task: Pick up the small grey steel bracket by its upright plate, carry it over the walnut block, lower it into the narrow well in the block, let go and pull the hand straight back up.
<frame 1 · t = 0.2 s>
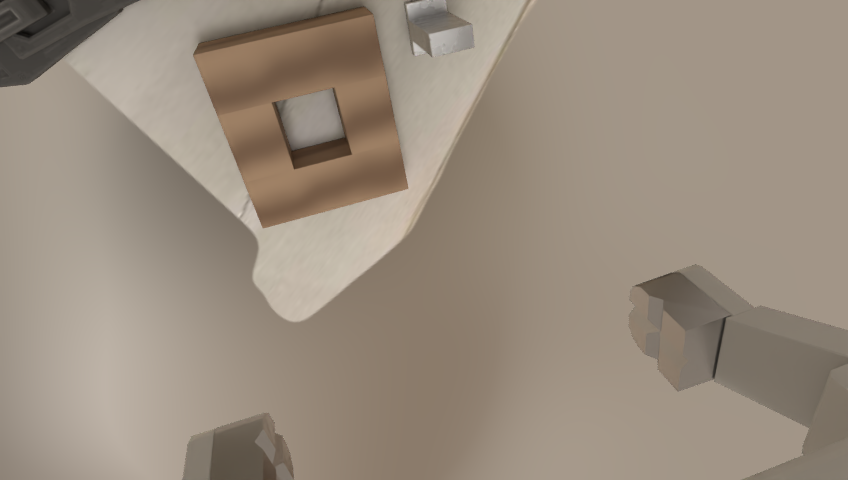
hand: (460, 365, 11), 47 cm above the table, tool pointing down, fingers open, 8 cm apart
steel bracket: (427, 24, 53), on the table
walnut well: (309, 113, 55), on the table
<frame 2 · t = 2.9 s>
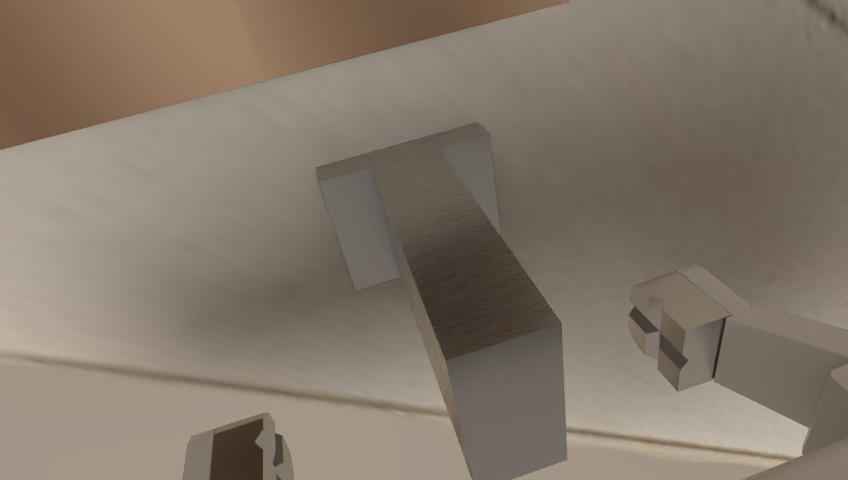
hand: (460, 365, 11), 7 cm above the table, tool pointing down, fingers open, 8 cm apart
steel bracket: (411, 201, 16), on the table
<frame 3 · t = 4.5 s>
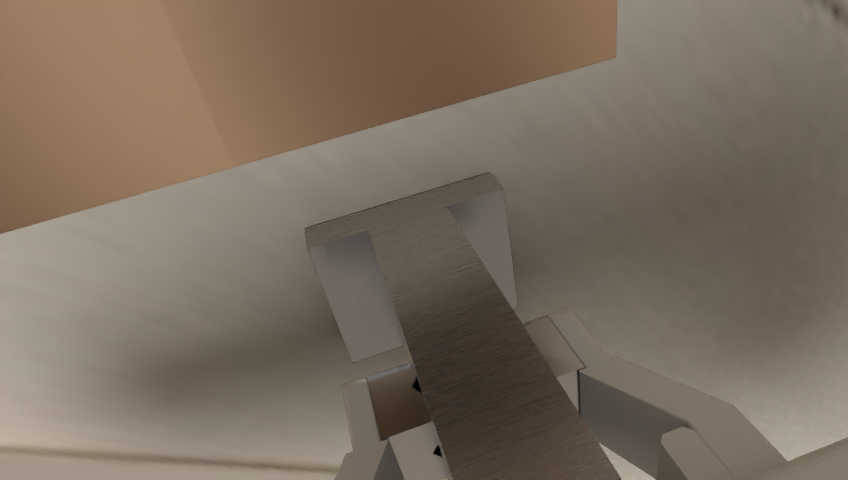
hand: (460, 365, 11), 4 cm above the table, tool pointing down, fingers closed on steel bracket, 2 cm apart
steel bracket: (414, 260, 15), on the table, touching gripper
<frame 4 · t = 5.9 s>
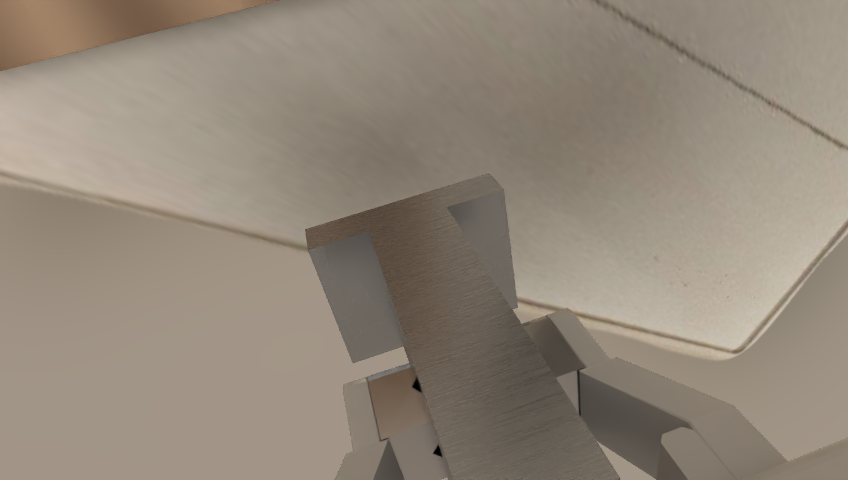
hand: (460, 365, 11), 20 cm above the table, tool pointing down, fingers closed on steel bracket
steel bracket: (414, 261, 15), point 16 cm above the table, touching gripper
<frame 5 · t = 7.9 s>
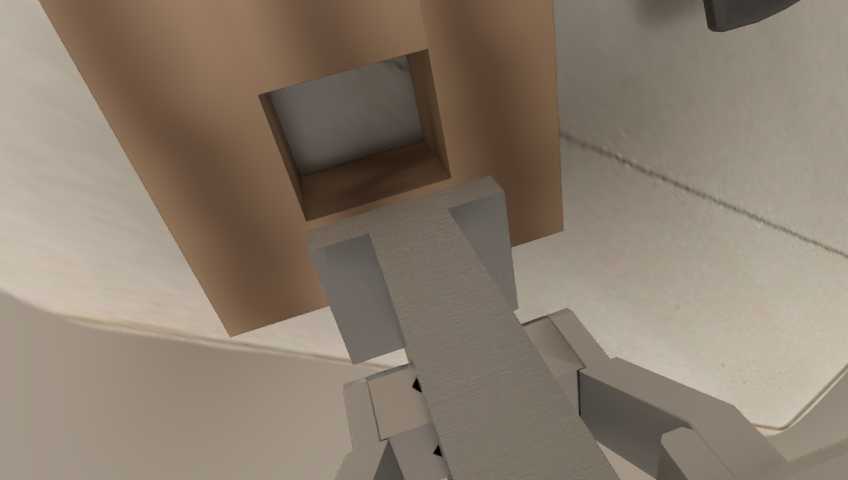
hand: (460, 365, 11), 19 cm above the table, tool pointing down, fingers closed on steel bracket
steel bracket: (414, 262, 15), point 14 cm above the table, touching gripper
walnut well: (348, 105, 26), on the table
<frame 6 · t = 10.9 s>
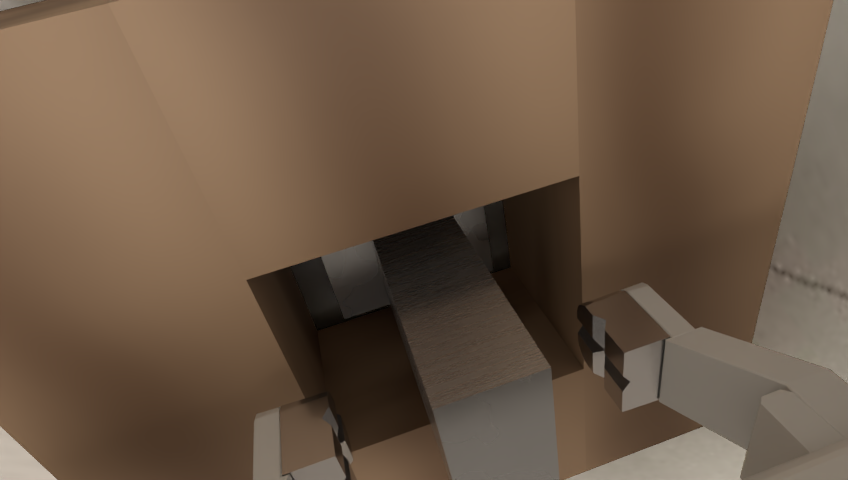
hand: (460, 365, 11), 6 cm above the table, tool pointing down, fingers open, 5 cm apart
steel bracket: (399, 227, 16), resting in walnut well
walnut well: (397, 226, 16), on the table
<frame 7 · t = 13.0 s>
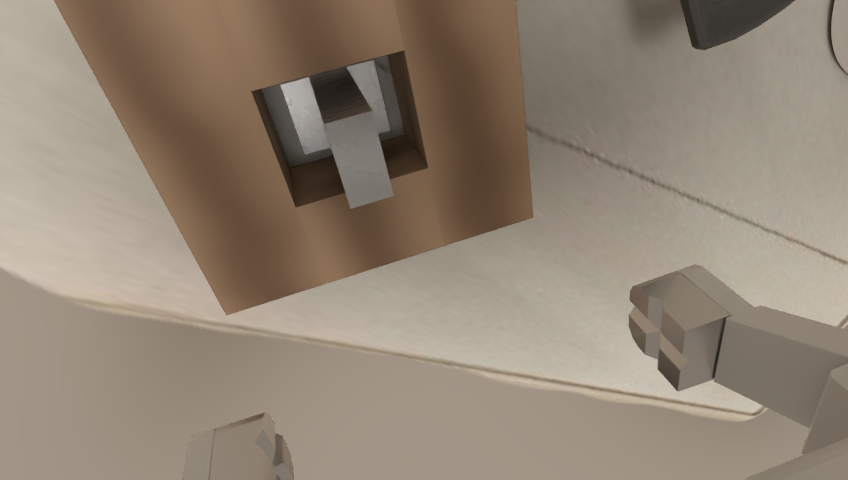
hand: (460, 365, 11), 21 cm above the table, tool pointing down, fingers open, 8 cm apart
steel bracket: (335, 103, 29), resting in walnut well
walnut well: (334, 102, 29), on the table
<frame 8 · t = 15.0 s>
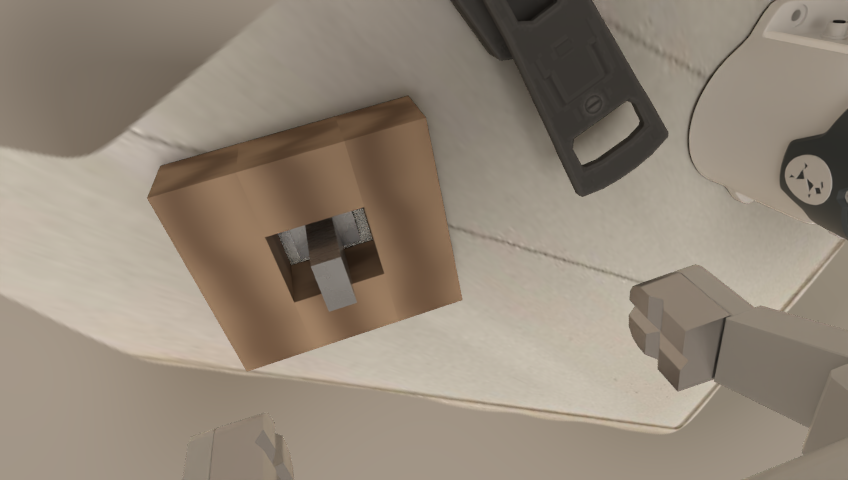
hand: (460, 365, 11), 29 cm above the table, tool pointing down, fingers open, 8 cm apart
steel bracket: (322, 223, 41), resting in walnut well
zipper pull: (520, 13, 37), on the table
walnut well: (321, 222, 41), on the table
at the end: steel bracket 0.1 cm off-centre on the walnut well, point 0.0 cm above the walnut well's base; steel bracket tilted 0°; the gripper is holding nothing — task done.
